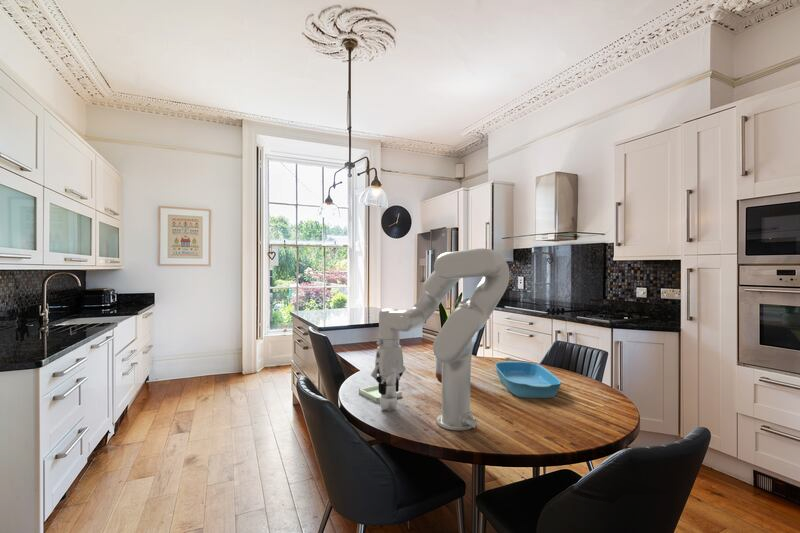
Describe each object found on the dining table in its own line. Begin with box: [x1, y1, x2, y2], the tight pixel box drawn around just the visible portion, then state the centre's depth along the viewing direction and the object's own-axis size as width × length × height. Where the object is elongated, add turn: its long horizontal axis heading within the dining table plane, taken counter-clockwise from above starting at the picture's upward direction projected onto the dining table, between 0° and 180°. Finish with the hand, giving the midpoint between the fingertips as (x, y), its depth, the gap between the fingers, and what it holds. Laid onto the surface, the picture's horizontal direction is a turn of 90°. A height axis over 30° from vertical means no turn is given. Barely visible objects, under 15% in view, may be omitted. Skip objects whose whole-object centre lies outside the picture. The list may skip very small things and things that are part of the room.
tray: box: [358, 384, 403, 404], centre depth 153 cm, size 13×12×2 cm
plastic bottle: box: [379, 368, 398, 412], centre depth 138 cm, size 6×7×20 cm
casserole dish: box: [494, 360, 562, 399], centre depth 165 cm, size 37×22×7 cm, turn 0°
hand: (388, 391), depth 138 cm, fingers closed on plastic bottle, 5 cm apart
